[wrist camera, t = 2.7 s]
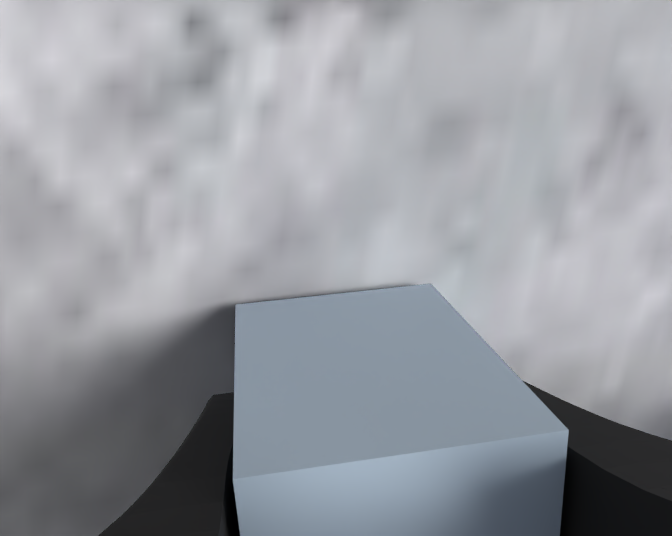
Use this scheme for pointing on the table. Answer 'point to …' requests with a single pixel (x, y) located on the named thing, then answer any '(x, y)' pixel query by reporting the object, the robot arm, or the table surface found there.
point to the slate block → (386, 423)
